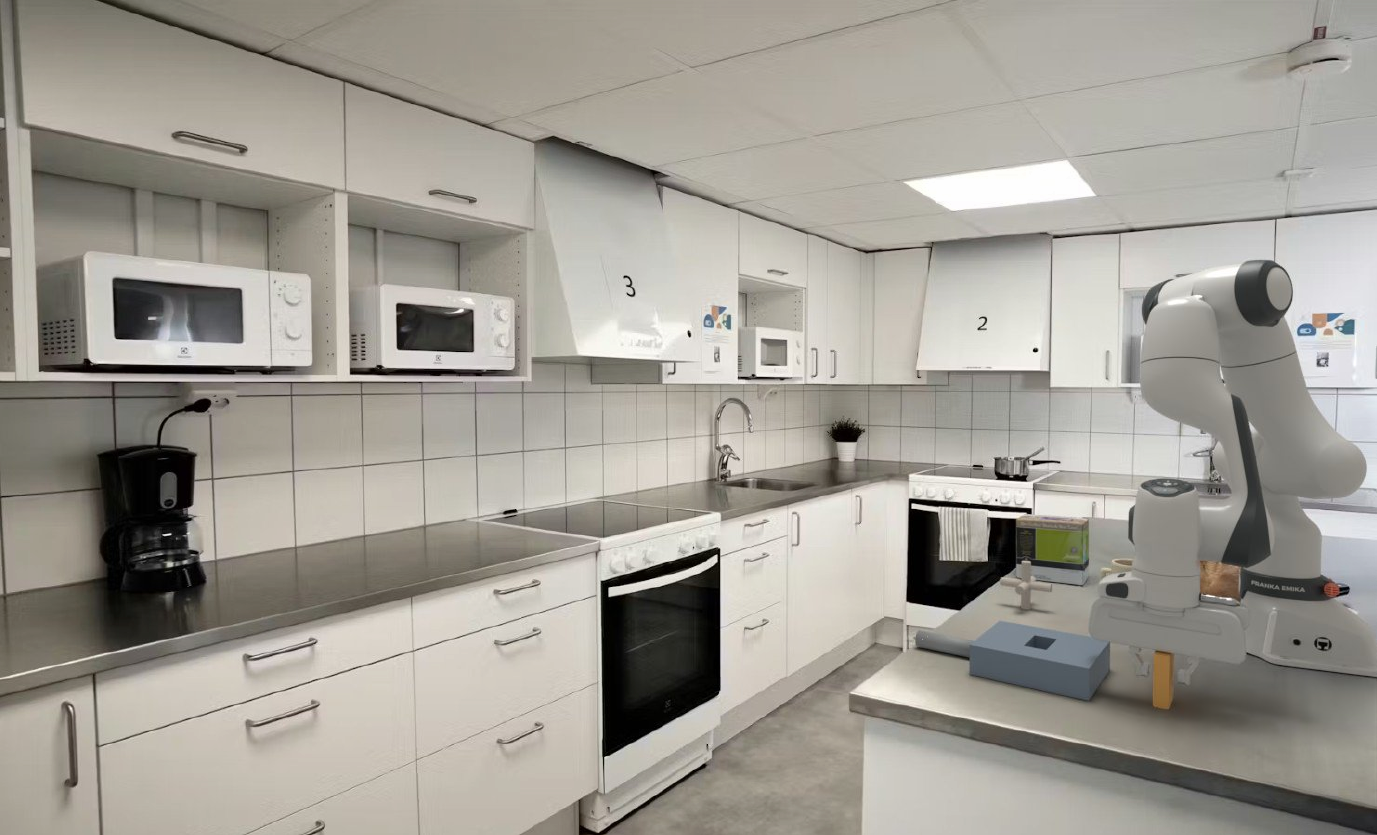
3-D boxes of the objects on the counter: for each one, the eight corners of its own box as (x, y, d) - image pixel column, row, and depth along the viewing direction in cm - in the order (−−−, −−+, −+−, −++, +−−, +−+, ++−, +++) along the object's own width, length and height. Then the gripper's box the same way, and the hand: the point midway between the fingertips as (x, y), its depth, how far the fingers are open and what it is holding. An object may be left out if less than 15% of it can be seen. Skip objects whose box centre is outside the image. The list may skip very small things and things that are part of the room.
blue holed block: (1109, 669, 133) (1110, 640, 132) (1088, 700, 120) (1089, 668, 120) (934, 635, 151) (934, 609, 151) (900, 659, 139) (900, 631, 138)
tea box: (1089, 577, 192) (1090, 517, 192) (1083, 587, 184) (1084, 524, 183) (1023, 569, 201) (1024, 512, 200) (1014, 578, 193) (1015, 518, 192)
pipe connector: (1045, 618, 161) (1045, 569, 160) (994, 610, 167) (994, 563, 166) (1056, 606, 169) (1057, 560, 168) (1007, 599, 175) (1008, 554, 174)
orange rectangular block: (1157, 695, 122) (1158, 644, 122) (1173, 698, 121) (1174, 647, 120) (1152, 706, 118) (1153, 653, 118) (1168, 710, 117) (1169, 656, 116)
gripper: (1251, 595, 115) (1249, 689, 115) (1095, 574, 127) (1094, 659, 128) (1248, 605, 110) (1246, 703, 110) (1086, 583, 122) (1085, 670, 123)
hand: (1163, 679), depth 119 cm, fingers open, 4 cm apart
